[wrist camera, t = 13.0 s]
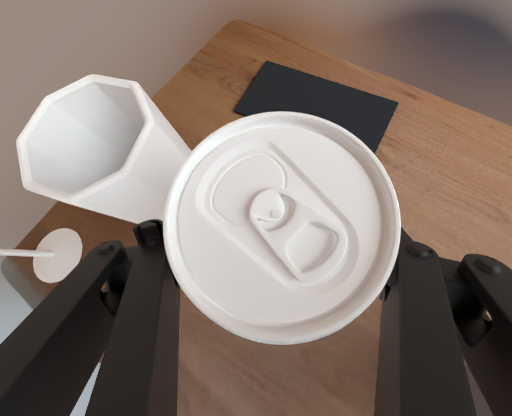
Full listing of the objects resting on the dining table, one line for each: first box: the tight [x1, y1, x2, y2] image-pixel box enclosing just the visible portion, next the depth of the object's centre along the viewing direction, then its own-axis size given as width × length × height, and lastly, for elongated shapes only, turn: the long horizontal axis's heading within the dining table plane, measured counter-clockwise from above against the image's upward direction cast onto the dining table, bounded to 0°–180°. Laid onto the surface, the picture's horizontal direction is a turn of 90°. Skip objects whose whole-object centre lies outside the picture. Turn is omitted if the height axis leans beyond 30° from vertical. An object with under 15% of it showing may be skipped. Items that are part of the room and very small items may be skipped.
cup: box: [16, 74, 192, 224], centre depth 24 cm, size 11×11×18 cm
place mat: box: [234, 61, 398, 154], centre depth 35 cm, size 24×12×1 cm, turn 61°
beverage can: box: [163, 111, 401, 345], centre depth 12 cm, size 8×8×12 cm
